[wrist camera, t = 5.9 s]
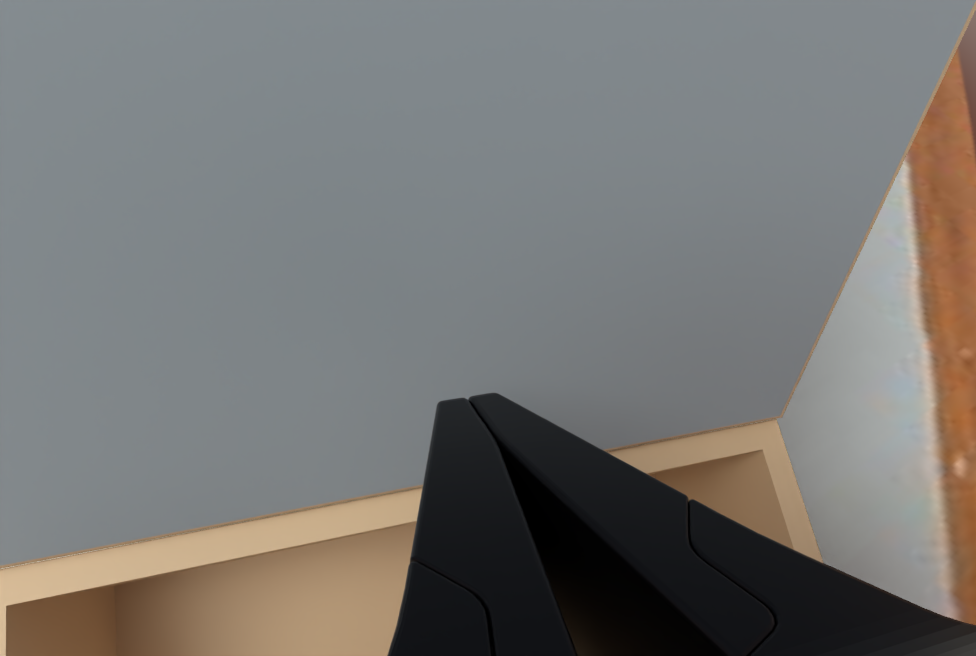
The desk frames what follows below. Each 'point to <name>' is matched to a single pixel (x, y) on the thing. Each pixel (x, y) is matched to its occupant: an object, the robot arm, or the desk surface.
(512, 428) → the robot arm
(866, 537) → the desk surface
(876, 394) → the desk surface
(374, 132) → the mailer lid
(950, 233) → the desk surface
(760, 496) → the mailer box
